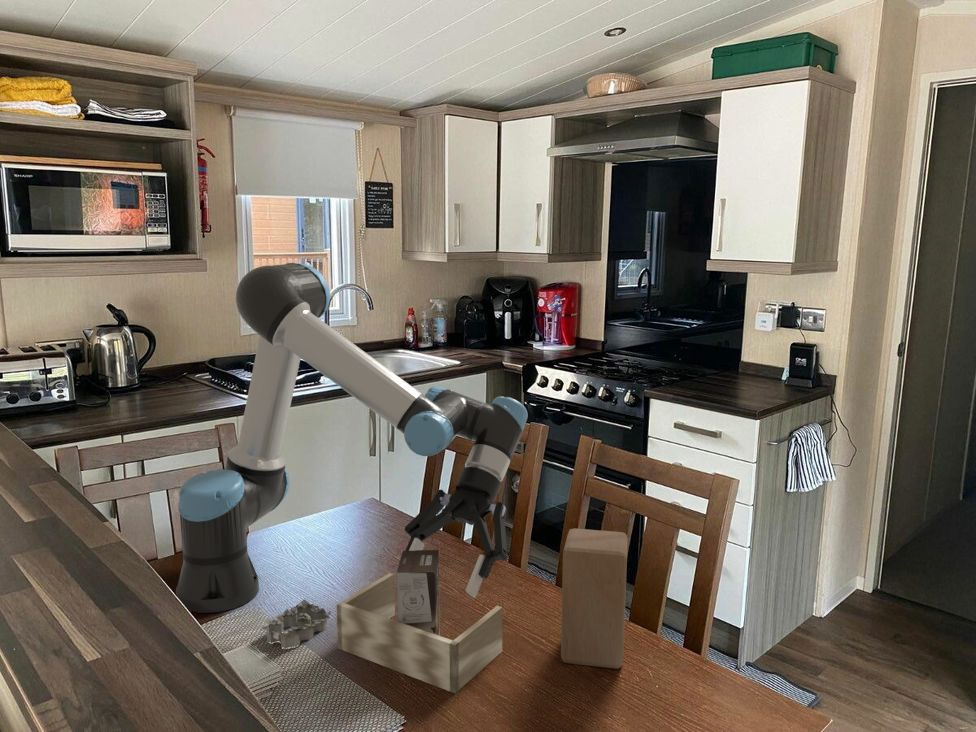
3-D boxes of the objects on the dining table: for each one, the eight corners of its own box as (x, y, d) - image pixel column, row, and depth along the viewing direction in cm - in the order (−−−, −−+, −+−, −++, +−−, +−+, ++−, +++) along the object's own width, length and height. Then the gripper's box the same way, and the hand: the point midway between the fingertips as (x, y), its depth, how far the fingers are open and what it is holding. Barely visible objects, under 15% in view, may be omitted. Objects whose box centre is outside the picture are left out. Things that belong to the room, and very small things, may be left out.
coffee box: (436, 665, 124) (435, 572, 121) (397, 665, 124) (395, 572, 121) (440, 635, 133) (440, 548, 130) (404, 635, 133) (402, 548, 130)
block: (622, 671, 122) (626, 554, 118) (560, 664, 124) (562, 549, 120) (623, 639, 132) (627, 530, 128) (566, 633, 134) (568, 525, 130)
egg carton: (288, 655, 127) (287, 632, 126) (259, 641, 131) (257, 619, 131) (335, 627, 136) (334, 606, 135) (306, 615, 140) (305, 595, 139)
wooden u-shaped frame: (338, 648, 129) (336, 604, 127) (390, 613, 140) (389, 573, 139) (455, 693, 116) (454, 645, 115) (502, 651, 128) (502, 607, 126)
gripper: (550, 497, 135) (508, 611, 125) (435, 474, 148) (388, 576, 138) (536, 476, 129) (491, 594, 120) (418, 454, 142) (368, 559, 132)
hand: (436, 584), depth 129 cm, fingers open, 13 cm apart
